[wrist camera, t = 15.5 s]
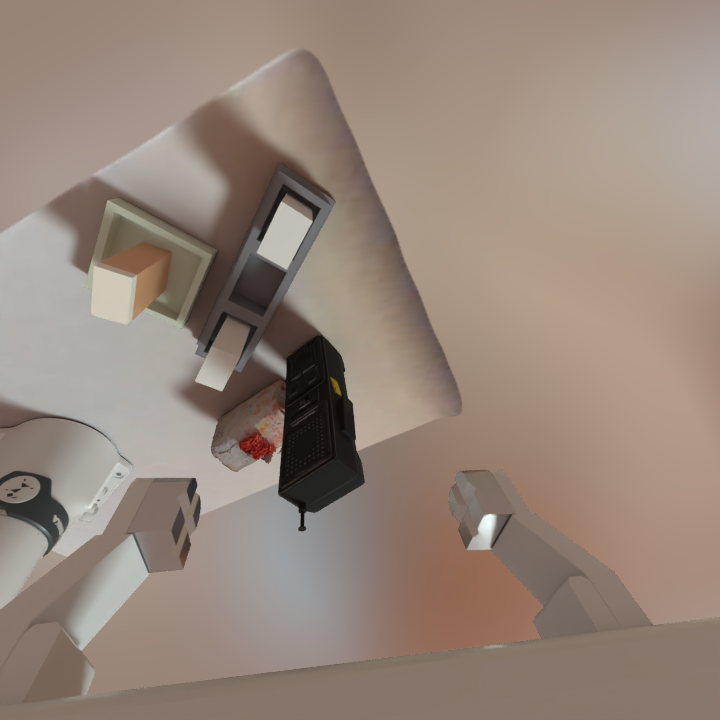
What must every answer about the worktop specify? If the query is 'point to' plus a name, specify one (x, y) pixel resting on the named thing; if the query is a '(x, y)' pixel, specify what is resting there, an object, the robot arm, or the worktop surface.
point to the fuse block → (261, 274)
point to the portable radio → (317, 431)
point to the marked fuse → (129, 282)
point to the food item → (251, 429)
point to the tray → (188, 253)
